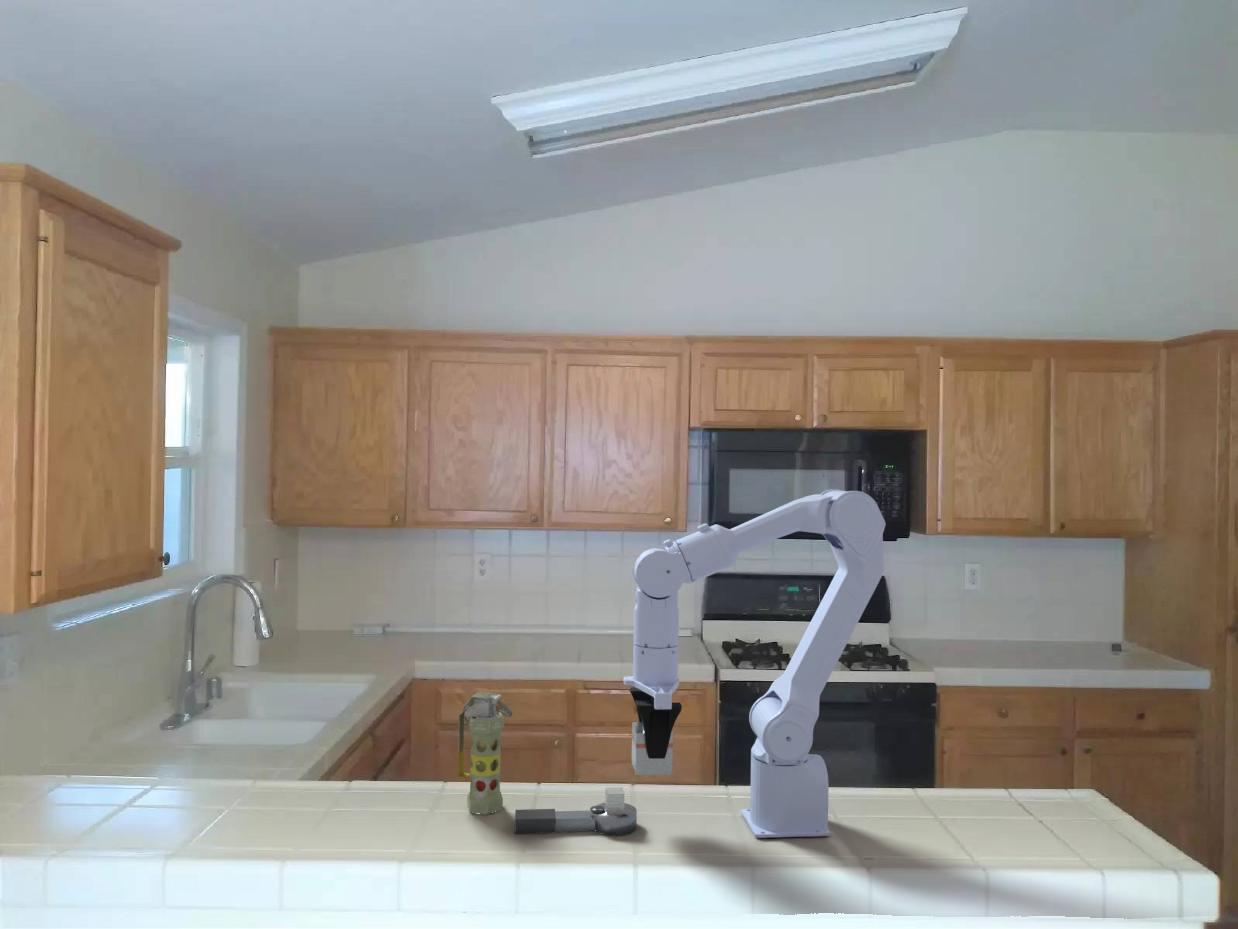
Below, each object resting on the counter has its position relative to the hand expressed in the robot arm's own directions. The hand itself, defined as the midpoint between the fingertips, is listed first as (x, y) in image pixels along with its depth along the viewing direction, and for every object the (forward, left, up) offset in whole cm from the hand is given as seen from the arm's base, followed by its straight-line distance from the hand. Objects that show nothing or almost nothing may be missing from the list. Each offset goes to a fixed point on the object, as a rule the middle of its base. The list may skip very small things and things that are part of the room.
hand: (653, 750), depth 110 cm
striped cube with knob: (0, 0, -2) cm, 2 cm away
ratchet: (+10, 0, -10) cm, 14 cm away
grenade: (+22, -8, -10) cm, 25 cm away
